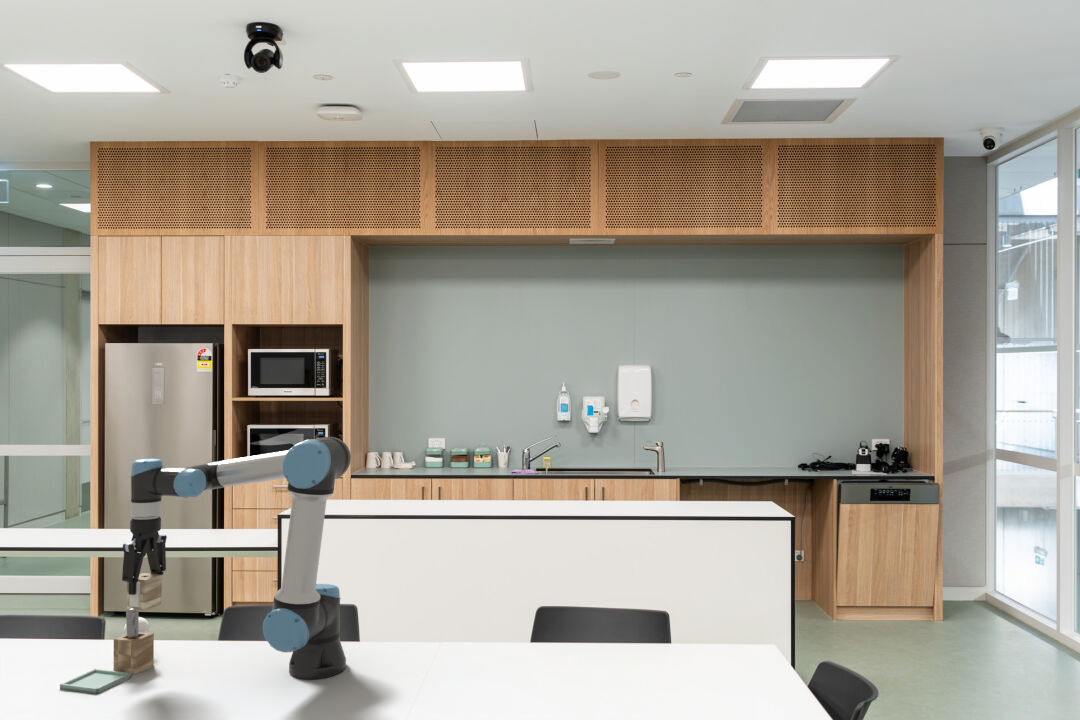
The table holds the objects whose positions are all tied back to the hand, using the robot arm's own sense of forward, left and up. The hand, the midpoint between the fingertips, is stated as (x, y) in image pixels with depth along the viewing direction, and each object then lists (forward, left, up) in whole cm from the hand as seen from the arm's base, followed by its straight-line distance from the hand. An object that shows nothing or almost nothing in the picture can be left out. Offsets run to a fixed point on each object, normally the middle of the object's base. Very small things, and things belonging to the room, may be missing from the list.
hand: (144, 602), depth 222 cm
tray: (+8, +8, -20) cm, 23 cm away
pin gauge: (+6, -4, -18) cm, 19 cm away
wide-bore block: (+6, -4, -20) cm, 21 cm away
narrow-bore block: (0, 0, -1) cm, 1 cm away
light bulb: (+13, -13, -20) cm, 27 cm away
